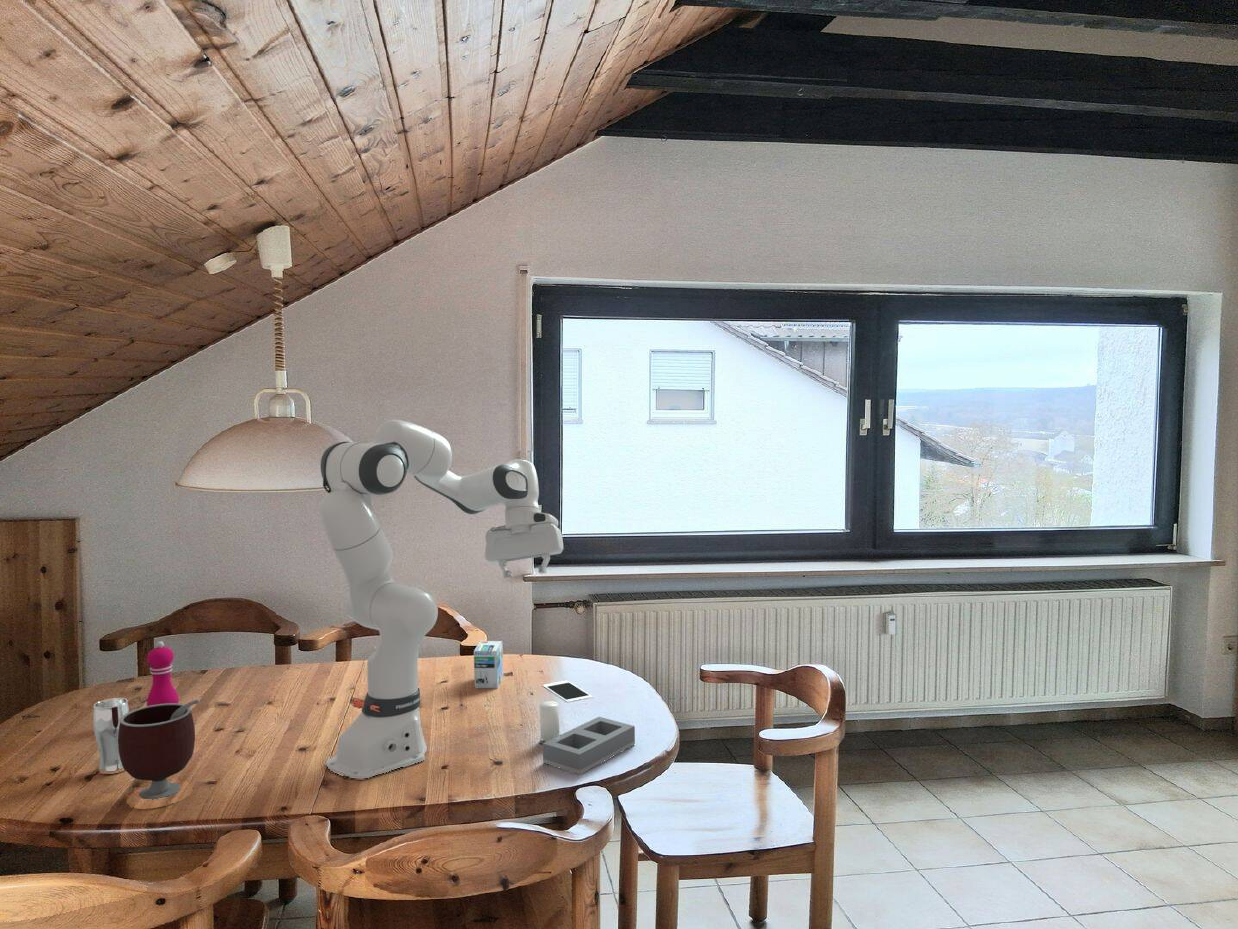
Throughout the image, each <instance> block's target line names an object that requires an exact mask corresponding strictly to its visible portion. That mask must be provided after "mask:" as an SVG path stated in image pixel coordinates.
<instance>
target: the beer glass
mask: <svg viewBox="0 0 1238 929" xmlns="http://www.w3.org/2000/svg"><path fill="white" fill-rule="evenodd" d="M128 712H130V707H129V700H128V699H127V698H126V697H113V698H107V699H103V700H99V701H97V702H95V703H94V704H93V713H92V716H93V717H92V718H93V719H92V722H93V723H92V725H93V733H94V736H95V737H94V738H95V742H96V745H97V750H98V753H99V764H98V770H99V769H100V770H102V771H105V772H106V771H115V770H118V769H121V768H123V766H122V763H121V760H120V756H119V751H118V733H119V726H120V718H121V717H122V716H123V715H125V714H126V713H128Z"/></svg>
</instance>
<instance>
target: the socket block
mask: <svg viewBox="0 0 1238 929" xmlns="http://www.w3.org/2000/svg"><path fill="white" fill-rule="evenodd" d="M635 728H636V727H635V725H631V724H629V723H624V722H620V721H616V720H613V719H610V718H609V719H608V718H605V717H603V716H597V717H595V718H593V719H591V720H589V721H588V722H584V723H583V724H581V725H578V726H576V727H574V728H572V729H570V730H568V731H565V732H564V733H562V734H559V736H557V737H555V738H553V739H551V740H549V741H547V742H546V741H544V742H542V764H544V763H546V764H545V765H547V764H549V765H548V766H550V765H552V766H551V767H554V766H555V767H554V768H557V767H560V768H562V769H561V770H563V769H565V770H564V771H566V770H568V771H567V772H569V771H571V772H570V773H573V774H576V773H578V774H577V775H579V774H581V775H582V773H583V774H585V773H586V772H588V771H590V770H591V769H590V768H592V767H594V768H595V767H597V766H599V765H600V764H599V763H601V762H603V761H604V760H606V761H608V760H610V759H611V758H610V757H612V756H613V755H615V754H617V755H619V754H621V753H622V752H621V751H623V750H625V749H626V748H628V749H630V748H632V747H634V746H635V745H636V737H635V736H636V729H635ZM634 744H635V745H634ZM633 745H634V746H633ZM631 746H632V747H631ZM625 751H626V750H625ZM620 752H621V753H620ZM623 752H624V751H623ZM618 753H619V754H618ZM609 758H610V759H609ZM612 758H613V757H612ZM607 759H608V760H607ZM603 763H604V762H603ZM598 764H599V765H598ZM601 764H602V763H601ZM596 765H597V766H596ZM560 768H559V769H560ZM589 769H590V770H589ZM592 769H593V768H592ZM587 770H588V771H587Z"/></svg>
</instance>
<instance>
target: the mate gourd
mask: <svg viewBox="0 0 1238 929" xmlns="http://www.w3.org/2000/svg"><path fill="white" fill-rule="evenodd" d="M198 703H199V699H193V700H191V701H189V702H186V703H185V704H184V703H178V704H177V703H169V704H158V705H151V706H147V705H146V706H143V707H139V708H136V709H133V710H131V711H130V710H129V712H128V713H126V714H125V715H123V716H122V717H121V718H120V726H119V733H118V751H119V756H120V760H121V763H122V766H123V768H124V770H125V771H124V772H127V774H129V775H130V777H132V778H133V779H136V780H138V781H139V780H140V781H151V783H150V784H151V786H150V787H147V788H145V789H143V790H142V791H141V792H140V793H139V796H140V797H141V798H143V799H152V800H153V799H158V798H163V797H169V796H171V795H173V794H175V793H176V792H178V791H179V790H180V785H179V784H176V783H169V782H168V780H169V779H168V778H169V777H172V776H174V775H176V774H178V773H180V772H181V771H183V770H184V769H185V768H186V767H187V765H188V763H189V762H190V761H191V759H192V758H193V754H194V752H195V751H194V750H195V745H196V744H195V742H196V731H195V729H196V727H195V723H194V717H193V714H192V709H191V706H193V705H197V704H198Z"/></svg>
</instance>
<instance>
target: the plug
mask: <svg viewBox="0 0 1238 929" xmlns="http://www.w3.org/2000/svg"><path fill="white" fill-rule="evenodd" d="M539 722H540V723H539V728H540V731H539V733H540V734H539V735H540V736H539V737H540V739H541V740H543V742H547V741H549V740H551V739H553V738H555V737H557V736H559V735H560V704H559V702H557V701H553V700H551V701H550V700H549V701H548V700H547V701H542V702H541V703H540V704H539Z"/></svg>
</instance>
